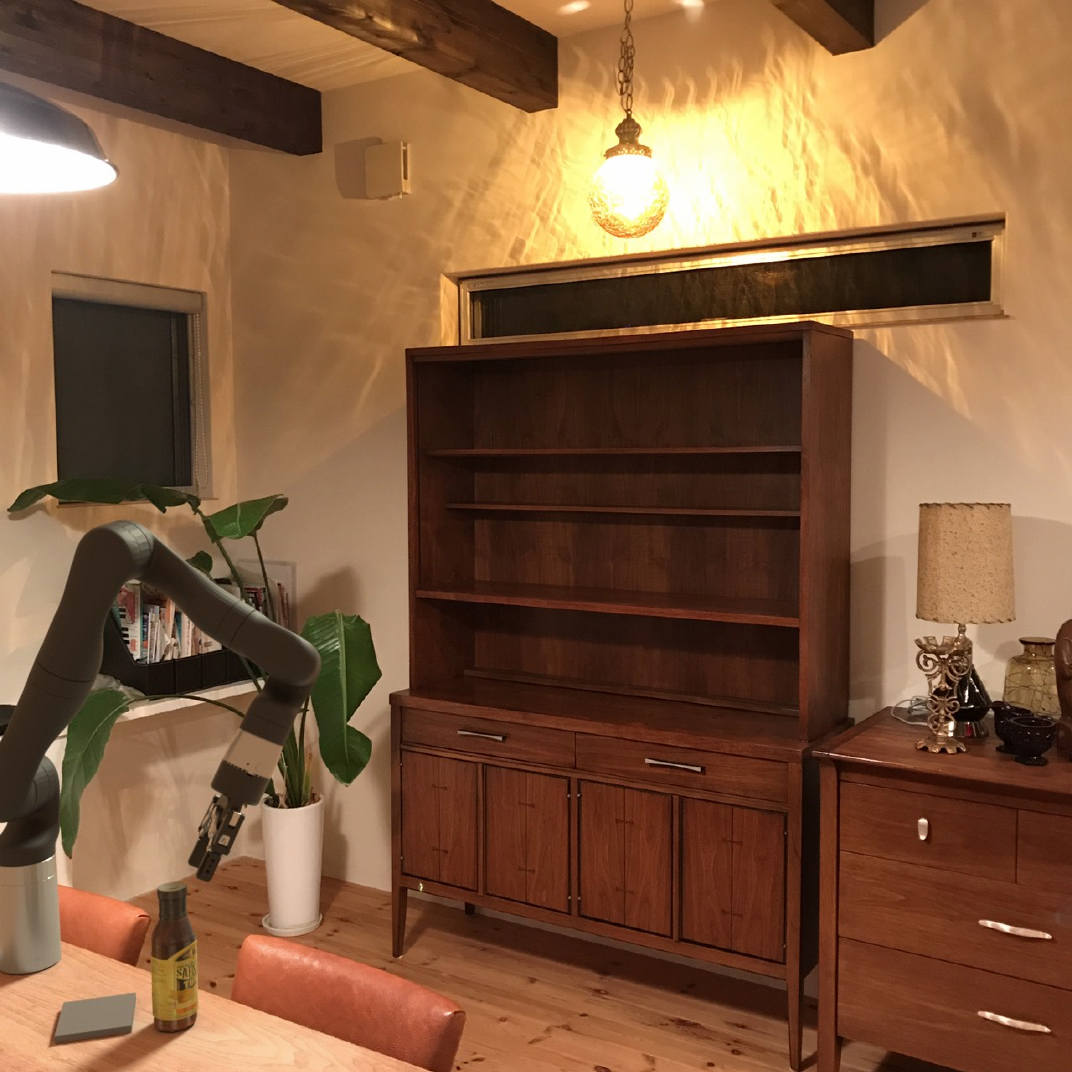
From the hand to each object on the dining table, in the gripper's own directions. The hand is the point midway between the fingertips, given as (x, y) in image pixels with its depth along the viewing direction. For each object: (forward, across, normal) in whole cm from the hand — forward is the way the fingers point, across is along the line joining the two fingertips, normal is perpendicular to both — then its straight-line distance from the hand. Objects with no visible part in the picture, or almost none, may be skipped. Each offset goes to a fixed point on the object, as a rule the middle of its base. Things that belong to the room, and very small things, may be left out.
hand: (197, 873), depth 166 cm
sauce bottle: (+20, -1, +7) cm, 21 cm away
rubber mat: (+24, -7, -3) cm, 26 cm away
